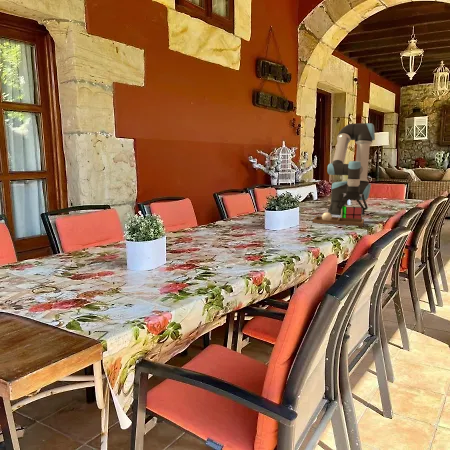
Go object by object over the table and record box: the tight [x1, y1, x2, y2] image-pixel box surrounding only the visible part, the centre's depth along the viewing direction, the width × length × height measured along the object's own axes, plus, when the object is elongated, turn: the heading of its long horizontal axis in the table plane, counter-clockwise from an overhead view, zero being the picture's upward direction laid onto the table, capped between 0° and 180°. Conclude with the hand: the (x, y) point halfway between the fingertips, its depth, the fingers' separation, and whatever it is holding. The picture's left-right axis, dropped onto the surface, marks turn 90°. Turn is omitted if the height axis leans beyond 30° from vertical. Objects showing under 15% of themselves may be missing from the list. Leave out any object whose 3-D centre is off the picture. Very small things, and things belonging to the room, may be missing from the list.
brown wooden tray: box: [312, 215, 365, 229], centre depth 264 cm, size 15×29×3 cm, turn 68°
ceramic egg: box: [321, 211, 333, 220], centre depth 266 cm, size 6×6×6 cm
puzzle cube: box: [342, 204, 363, 219], centre depth 274 cm, size 10×10×10 cm
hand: (351, 219), depth 275 cm, fingers closed on puzzle cube, 12 cm apart
